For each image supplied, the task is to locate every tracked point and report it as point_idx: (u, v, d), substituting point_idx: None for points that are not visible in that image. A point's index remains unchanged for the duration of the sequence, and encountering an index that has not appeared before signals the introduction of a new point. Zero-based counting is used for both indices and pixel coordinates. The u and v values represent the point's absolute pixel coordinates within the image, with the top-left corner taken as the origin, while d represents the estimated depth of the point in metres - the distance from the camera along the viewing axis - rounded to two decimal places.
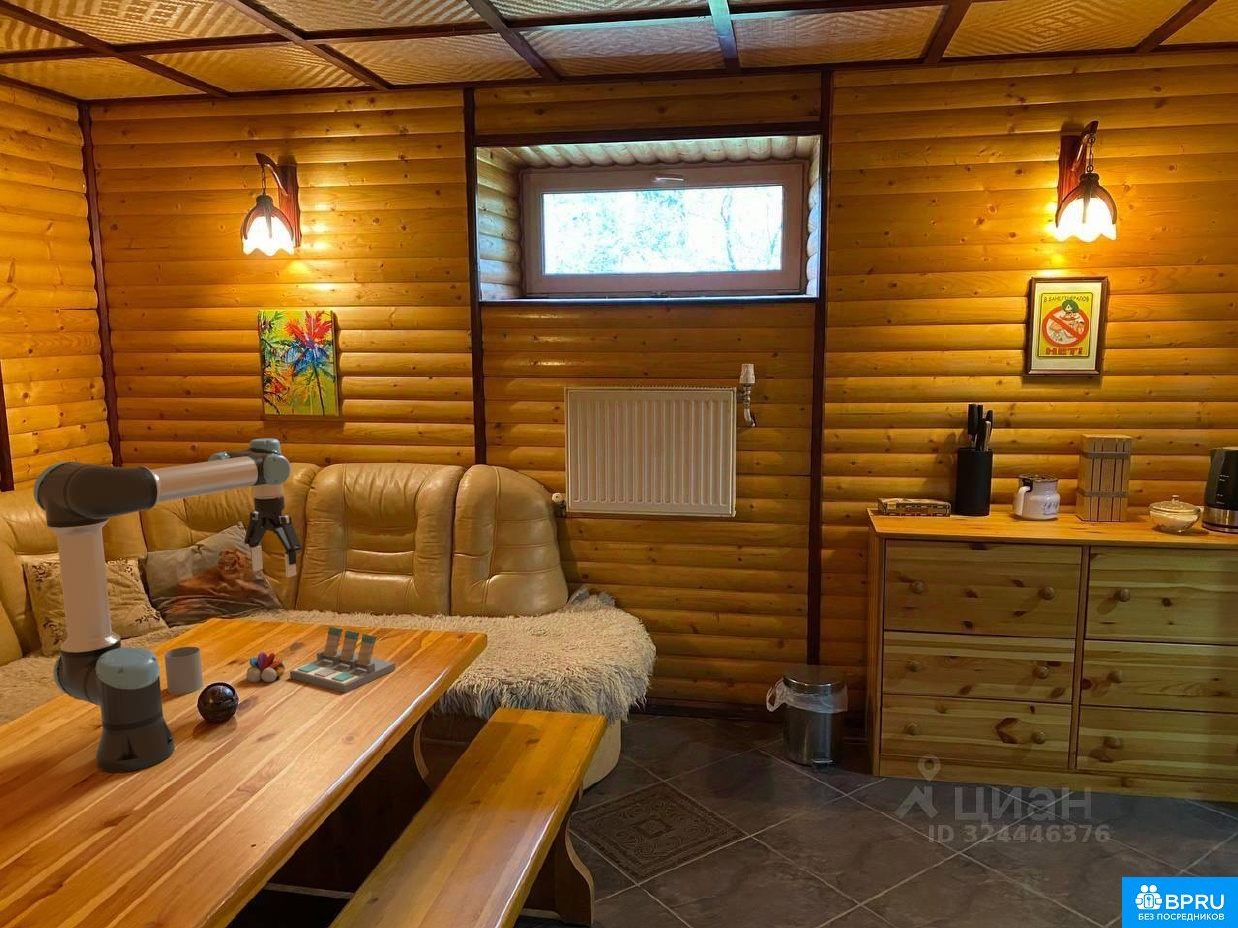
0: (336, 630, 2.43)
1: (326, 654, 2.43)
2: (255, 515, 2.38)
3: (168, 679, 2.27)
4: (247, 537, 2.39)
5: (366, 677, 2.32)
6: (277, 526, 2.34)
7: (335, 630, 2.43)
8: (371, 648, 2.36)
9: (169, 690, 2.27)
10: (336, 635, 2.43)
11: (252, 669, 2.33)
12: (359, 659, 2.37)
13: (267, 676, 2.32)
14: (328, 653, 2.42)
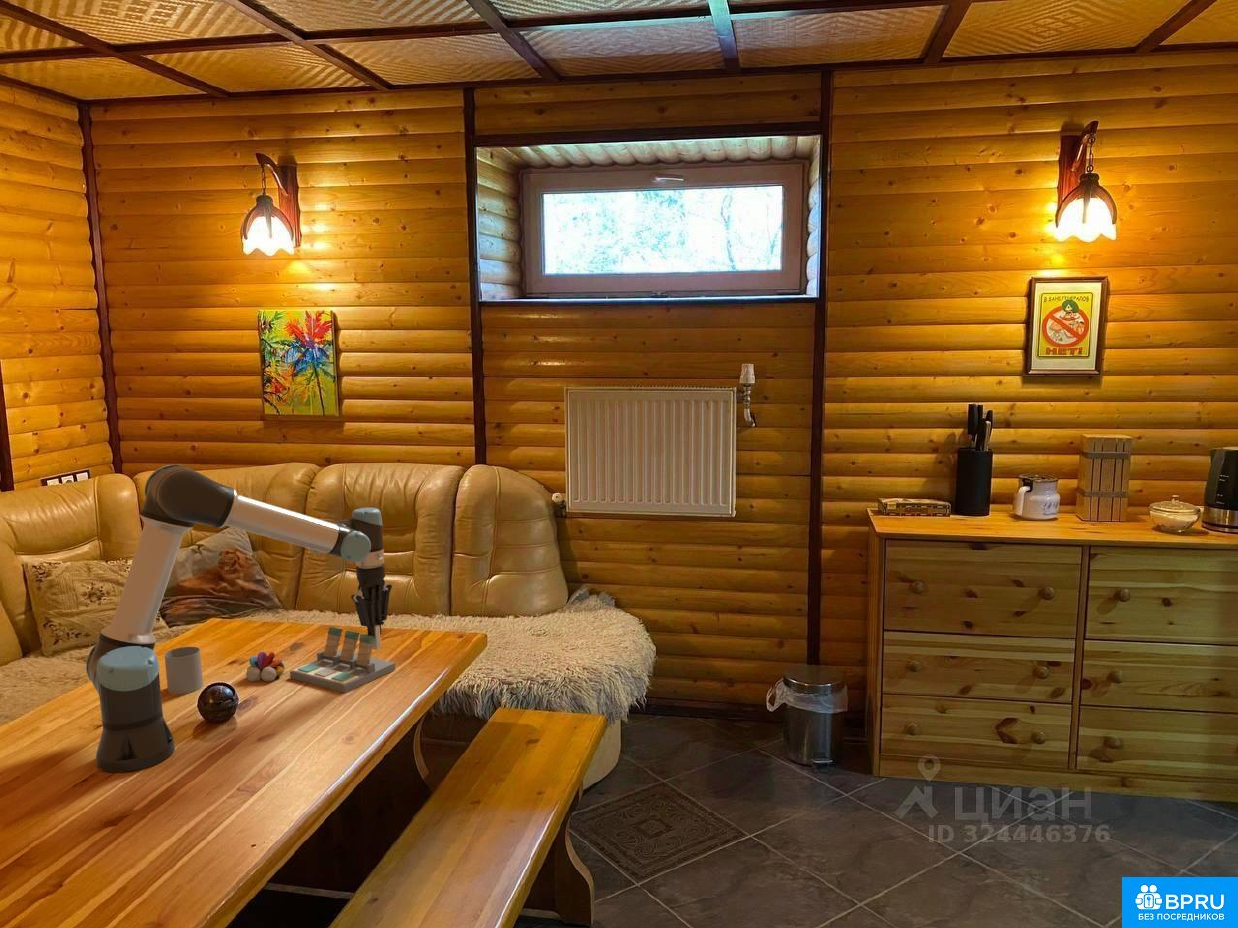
0: (336, 630, 2.43)
1: (326, 654, 2.43)
2: None
3: (168, 679, 2.27)
4: None
5: (366, 677, 2.32)
6: None
7: (335, 630, 2.43)
8: (369, 648, 2.36)
9: (169, 690, 2.27)
10: (336, 635, 2.43)
11: (252, 668, 2.34)
12: (358, 659, 2.36)
13: (267, 675, 2.33)
14: (328, 653, 2.42)
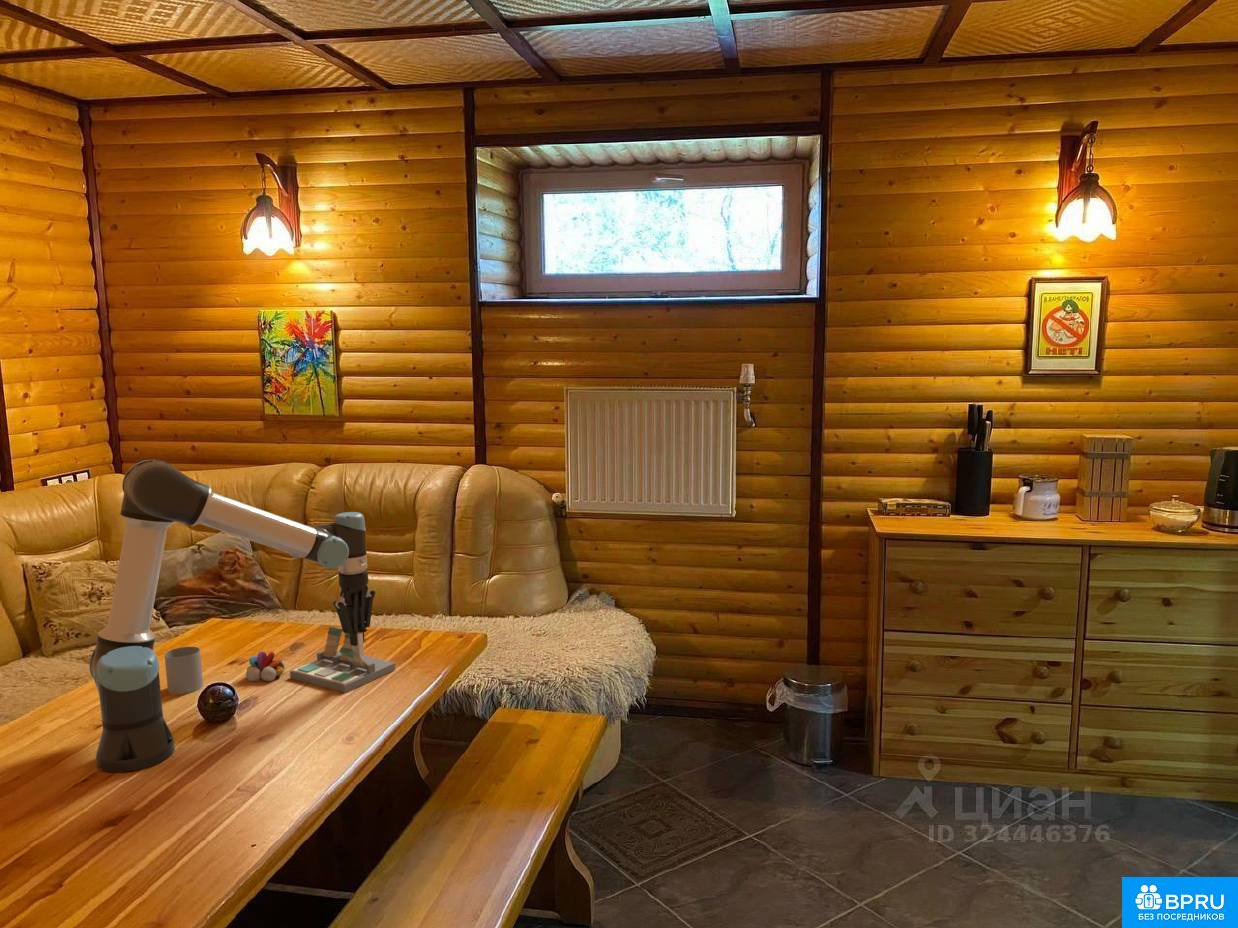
0: (336, 630, 2.43)
1: (326, 654, 2.43)
2: None
3: (168, 679, 2.27)
4: None
5: (366, 677, 2.32)
6: None
7: (335, 630, 2.43)
8: (357, 658, 2.32)
9: (169, 690, 2.27)
10: (336, 635, 2.43)
11: (252, 668, 2.34)
12: (355, 664, 2.35)
13: (267, 675, 2.33)
14: (328, 653, 2.42)
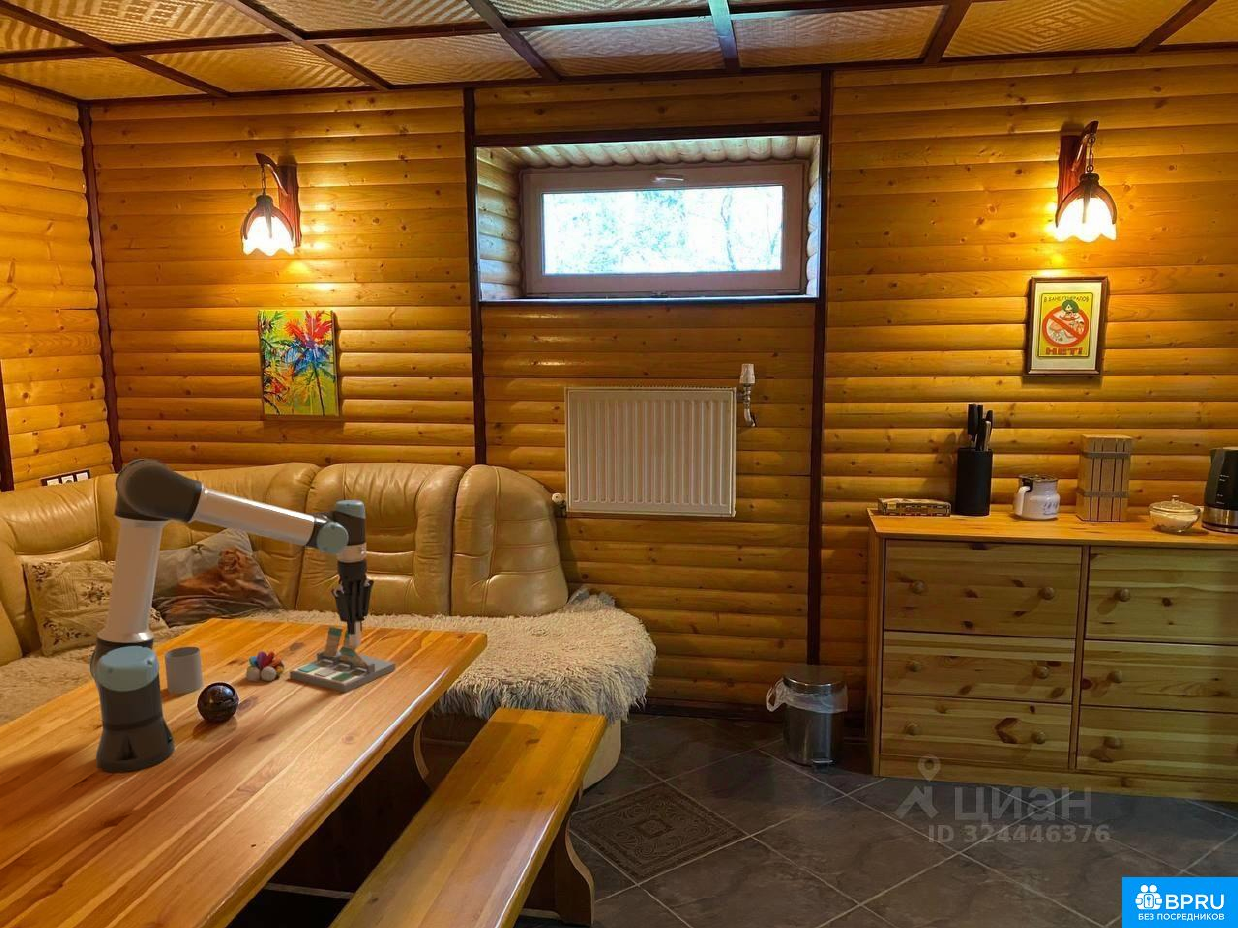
0: (336, 630, 2.43)
1: (326, 654, 2.43)
2: None
3: (168, 679, 2.27)
4: None
5: (366, 677, 2.32)
6: None
7: (335, 630, 2.43)
8: (357, 657, 2.32)
9: (169, 690, 2.27)
10: (336, 635, 2.43)
11: (252, 668, 2.34)
12: (355, 664, 2.35)
13: (267, 675, 2.33)
14: (328, 653, 2.42)
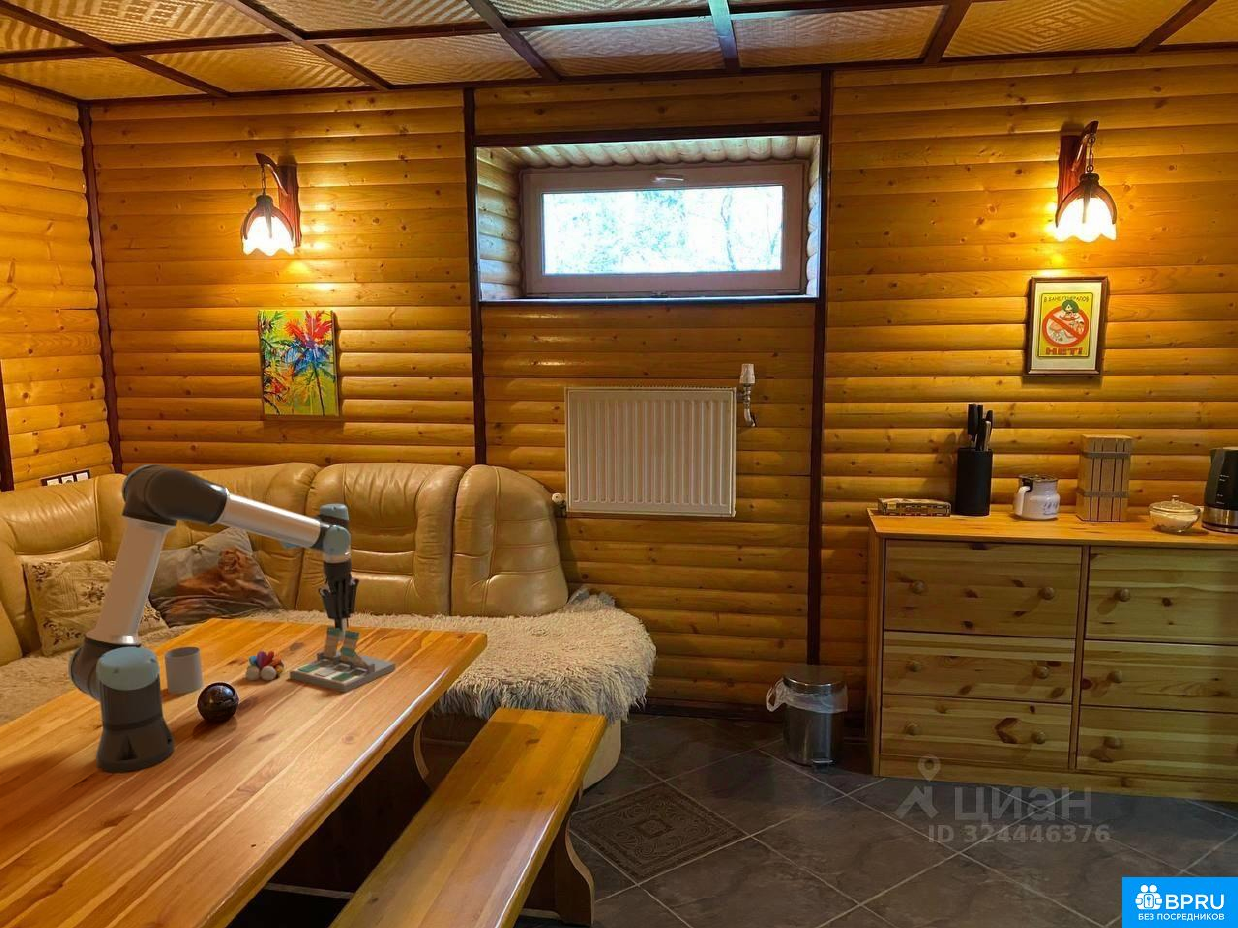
0: (334, 630, 2.42)
1: (326, 654, 2.43)
2: None
3: (168, 679, 2.27)
4: None
5: (366, 677, 2.32)
6: None
7: (333, 630, 2.43)
8: (357, 657, 2.32)
9: (169, 690, 2.27)
10: (334, 635, 2.42)
11: (251, 667, 2.35)
12: (355, 664, 2.35)
13: (266, 674, 2.34)
14: (327, 653, 2.42)
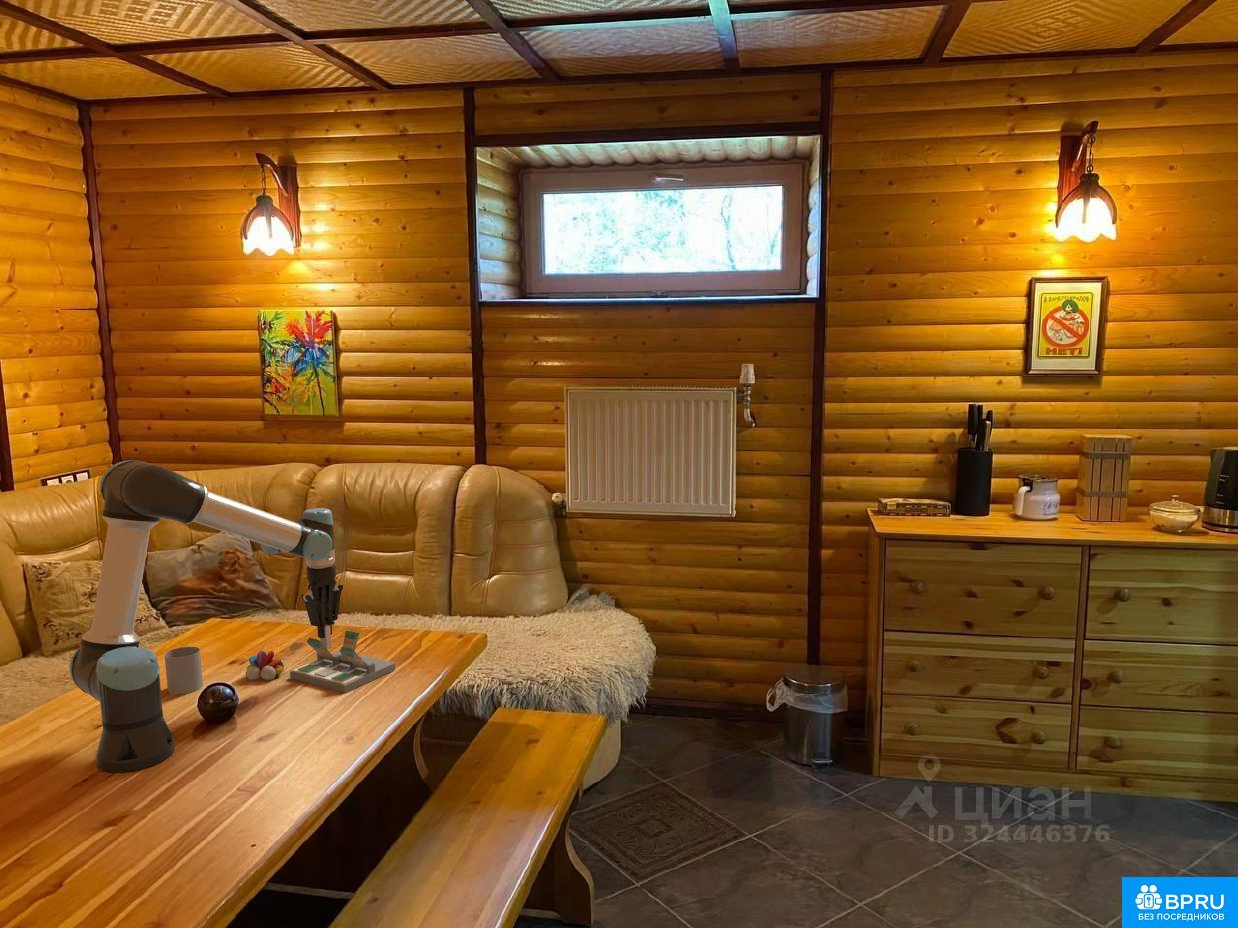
0: (315, 645, 2.37)
1: (324, 657, 2.42)
2: None
3: (168, 679, 2.27)
4: None
5: (366, 677, 2.32)
6: None
7: (314, 644, 2.37)
8: (357, 657, 2.32)
9: (169, 690, 2.27)
10: (318, 647, 2.37)
11: (251, 667, 2.35)
12: (355, 664, 2.35)
13: (266, 674, 2.34)
14: (324, 657, 2.42)
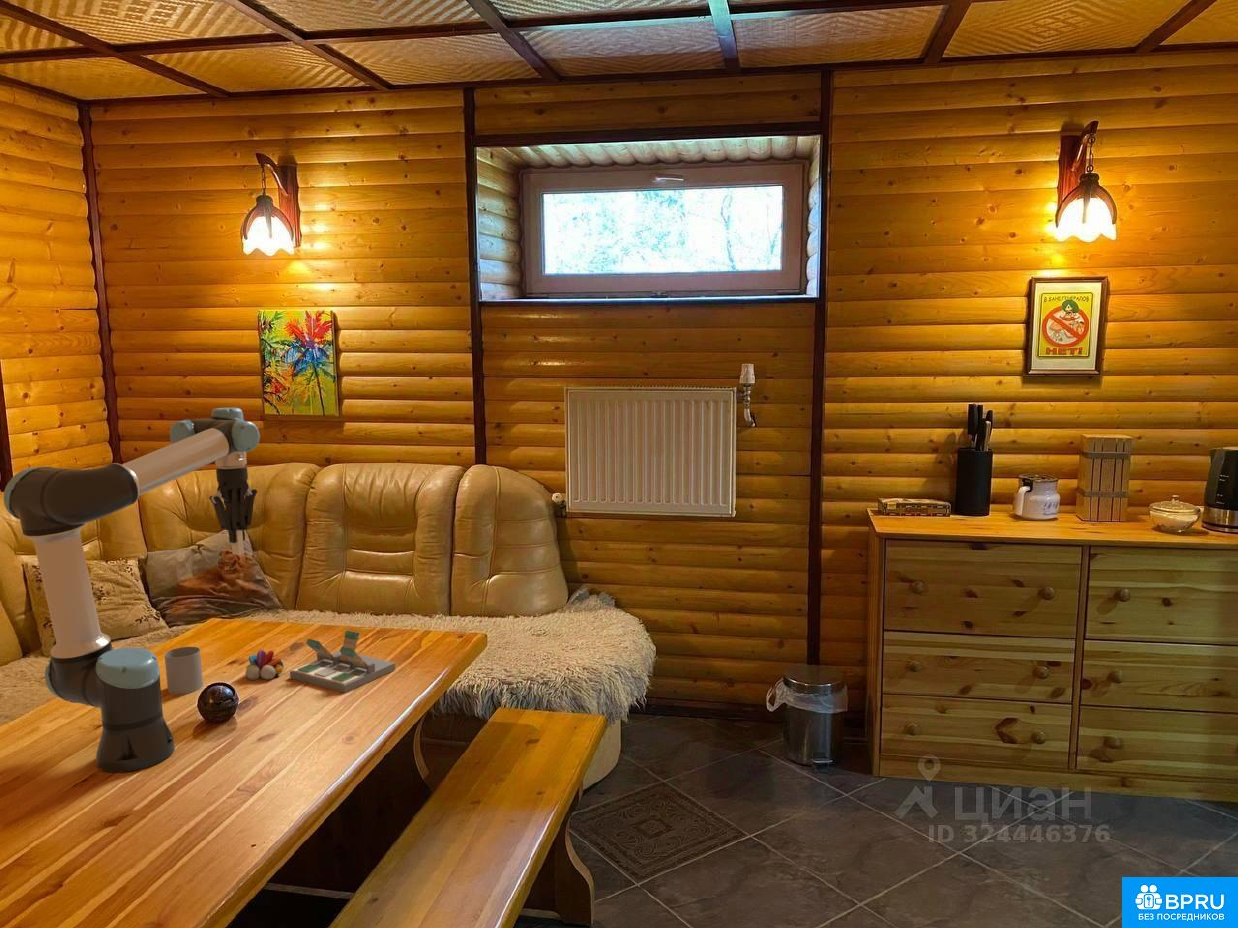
0: (314, 646, 2.37)
1: (324, 657, 2.42)
2: None
3: (168, 679, 2.27)
4: None
5: (366, 677, 2.32)
6: None
7: (313, 646, 2.37)
8: (357, 657, 2.32)
9: (169, 690, 2.27)
10: (318, 648, 2.37)
11: (251, 666, 2.35)
12: (355, 664, 2.35)
13: (266, 673, 2.34)
14: (324, 657, 2.42)
